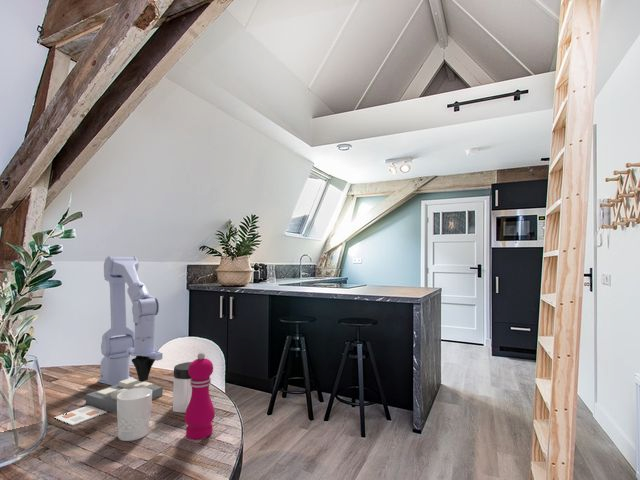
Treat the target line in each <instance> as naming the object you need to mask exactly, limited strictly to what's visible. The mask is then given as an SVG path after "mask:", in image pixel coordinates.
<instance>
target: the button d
mask: <svg viewBox="0 0 640 480" xmlns="http://www.w3.org/2000/svg"><path fill="white" fill-rule="evenodd" d="M153 385H154V383H152V382H148V381H143V382H142V383H139V384H136V385H133V389H135V388H148V389H153Z"/></svg>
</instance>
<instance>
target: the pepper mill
mask: <svg viewBox="0 0 640 480" xmlns="http://www.w3.org/2000/svg"><path fill="white" fill-rule="evenodd" d="M205 357H206V354H205V353H204V352H199V353H198V354H197V359H195V360H193V361H191V362H192V363H191V364H190V365H189V369H188V373H189V376H190V377H191V378H192V379H191V380H190V382H191V383H190V386H192V396H191V400H190V402H189V404H188V407H187V409H186V412H185V413H184V423H185V424H186V425H187V426H186V429H185V431H186V432H185V436H186V437H187V438H188V439H190V440H203V439H207V438H208V437H209V436H211V435H212V434H213V430H214V429H213V427H214V426H213V423H212V422H213V421H214V419H215V417H216V413H215V407H214V404H213V401H212V398H211V396H210V385H211V383H212V381H211V380H212V377H211V375H213V372H214V365H213V363H212V360H210V359H208V358H205Z"/></svg>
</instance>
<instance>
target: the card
mask: <svg viewBox="0 0 640 480" xmlns="http://www.w3.org/2000/svg"><path fill="white" fill-rule="evenodd" d="M66 413H67V415H65V414H66ZM104 413H105V414H107V413H108V410H105V409H102V408H99V407H96V406H93V405H90V404H87V405H85V406H83V407H82V406H81V407H80V408H76V409H74V410H71V411H68V412H65V413H63V414H64V415H63V414H60V415H57V416H53V419H54V418H56V419H55V420H57V419H58V420H57V421H59V420H60V421H59V422H61V423H64V422H65V424H67V423H68V424H67V425H70V426H76V425H78V424H81V423H84V422H86V421H89V420H91V419H94V417H95V418H97V417H99V415H100V416H103V415H105V414H104Z"/></svg>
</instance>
